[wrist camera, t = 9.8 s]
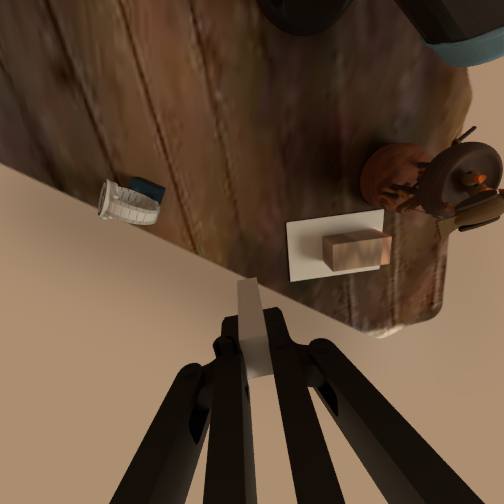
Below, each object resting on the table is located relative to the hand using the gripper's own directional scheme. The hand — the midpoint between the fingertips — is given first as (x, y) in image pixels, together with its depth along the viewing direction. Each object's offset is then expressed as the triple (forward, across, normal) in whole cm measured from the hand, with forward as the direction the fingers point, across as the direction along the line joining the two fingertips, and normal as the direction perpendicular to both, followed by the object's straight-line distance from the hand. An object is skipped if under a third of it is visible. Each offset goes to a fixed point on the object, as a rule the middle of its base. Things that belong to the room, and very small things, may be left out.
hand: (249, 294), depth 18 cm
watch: (+25, -15, +7) cm, 30 cm away
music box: (+25, +27, +3) cm, 37 cm away
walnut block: (+22, +14, -8) cm, 27 cm away
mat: (+25, +17, -8) cm, 31 cm away
